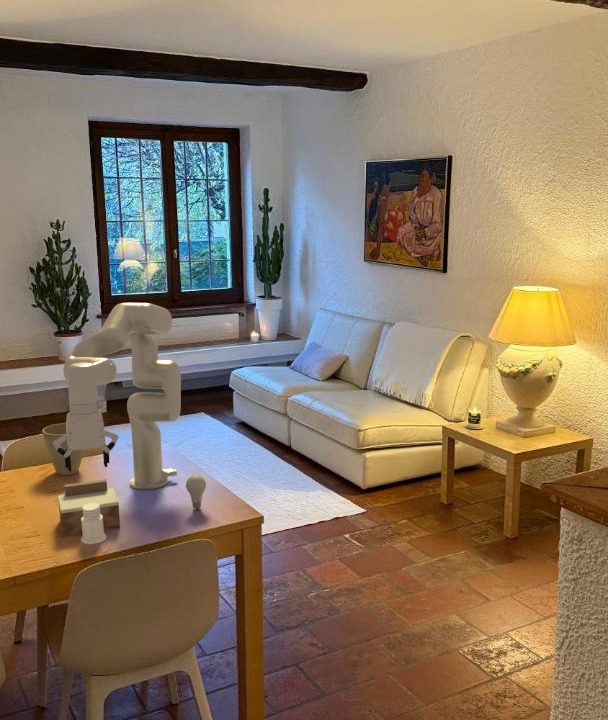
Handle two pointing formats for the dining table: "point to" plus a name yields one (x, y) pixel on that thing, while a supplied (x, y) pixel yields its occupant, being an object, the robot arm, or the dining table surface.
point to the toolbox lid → (87, 496)
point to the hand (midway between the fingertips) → (87, 467)
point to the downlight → (92, 524)
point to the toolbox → (73, 519)
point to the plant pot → (57, 459)
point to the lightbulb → (196, 489)
